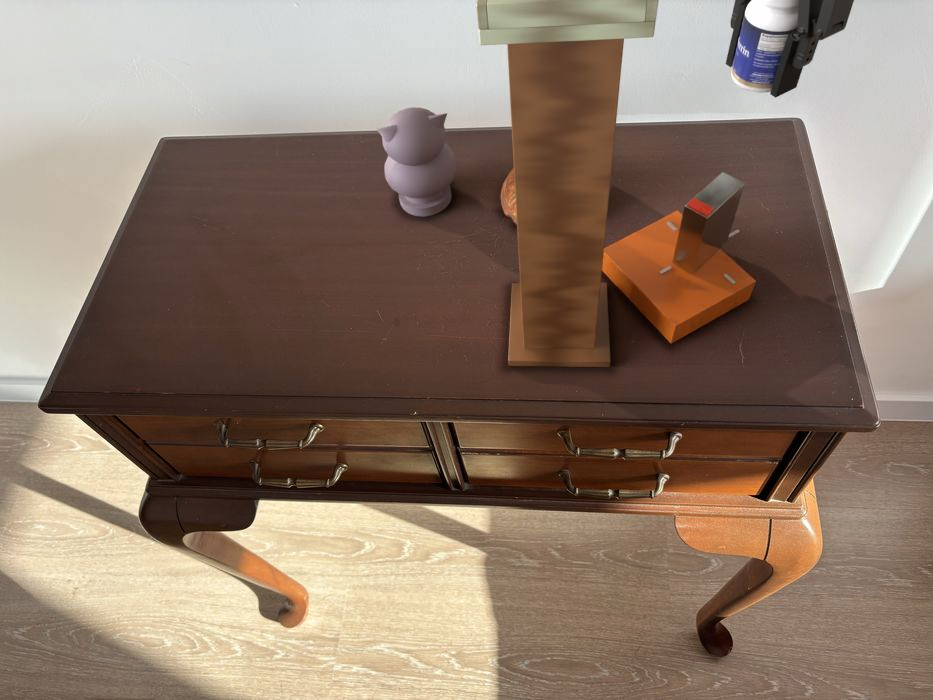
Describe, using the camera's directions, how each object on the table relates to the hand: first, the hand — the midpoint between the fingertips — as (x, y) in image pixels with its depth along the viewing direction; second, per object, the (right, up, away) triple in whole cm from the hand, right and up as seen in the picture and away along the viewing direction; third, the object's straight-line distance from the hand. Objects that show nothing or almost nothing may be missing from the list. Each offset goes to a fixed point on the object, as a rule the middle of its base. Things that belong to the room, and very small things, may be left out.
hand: (760, 75), depth 71 cm
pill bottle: (0, 0, 0) cm, 0 cm away
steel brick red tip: (-6, -18, +1) cm, 19 cm away
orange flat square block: (-7, -20, +3) cm, 22 cm away
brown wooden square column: (-21, -26, +1) cm, 33 cm away
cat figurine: (-35, -10, +14) cm, 39 cm away
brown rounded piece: (-20, -10, +11) cm, 25 cm away
